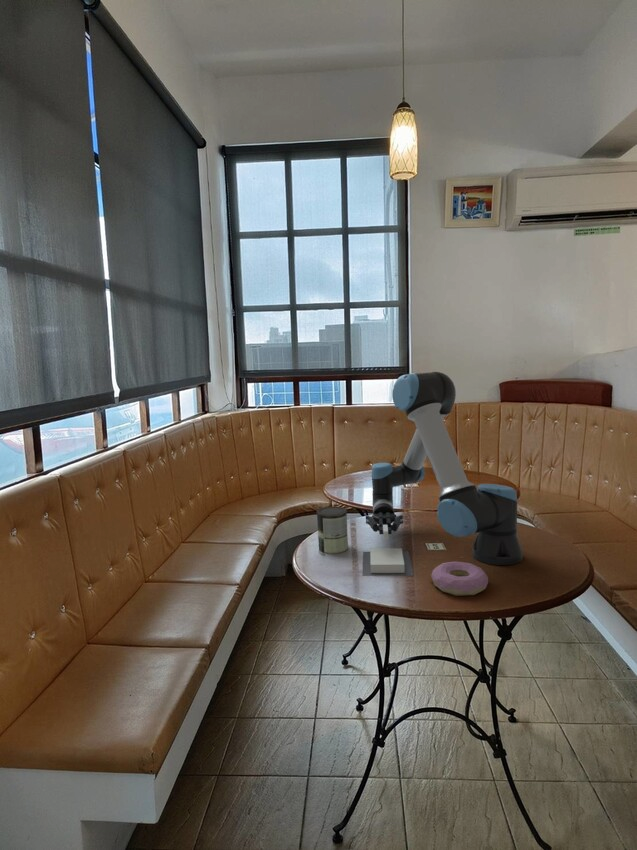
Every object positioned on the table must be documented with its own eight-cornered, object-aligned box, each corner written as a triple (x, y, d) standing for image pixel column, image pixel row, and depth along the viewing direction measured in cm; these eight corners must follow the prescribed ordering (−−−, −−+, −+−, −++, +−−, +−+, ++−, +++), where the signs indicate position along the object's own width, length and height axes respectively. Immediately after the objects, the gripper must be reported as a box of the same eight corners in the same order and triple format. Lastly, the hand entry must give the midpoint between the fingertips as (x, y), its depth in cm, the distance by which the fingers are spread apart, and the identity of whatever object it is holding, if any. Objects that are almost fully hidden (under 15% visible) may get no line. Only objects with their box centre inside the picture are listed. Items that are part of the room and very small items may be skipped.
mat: (408, 553, 167) (408, 551, 167) (413, 577, 148) (413, 575, 148) (363, 553, 169) (363, 551, 169) (362, 578, 150) (362, 575, 150)
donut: (456, 570, 153) (456, 554, 152) (499, 587, 140) (499, 570, 139) (420, 585, 144) (419, 568, 143) (463, 604, 131) (462, 586, 131)
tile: (401, 548, 162) (404, 564, 150) (401, 556, 163) (404, 573, 150) (370, 548, 163) (370, 564, 151) (370, 556, 164) (370, 573, 151)
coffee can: (312, 552, 172) (310, 512, 171) (330, 543, 180) (329, 504, 178) (336, 558, 166) (334, 517, 164) (354, 548, 174) (352, 509, 172)
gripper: (402, 522, 179) (407, 547, 156) (365, 523, 181) (365, 547, 157) (401, 502, 178) (406, 523, 155) (364, 502, 180) (364, 524, 156)
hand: (385, 535), depth 156 cm, fingers closed
